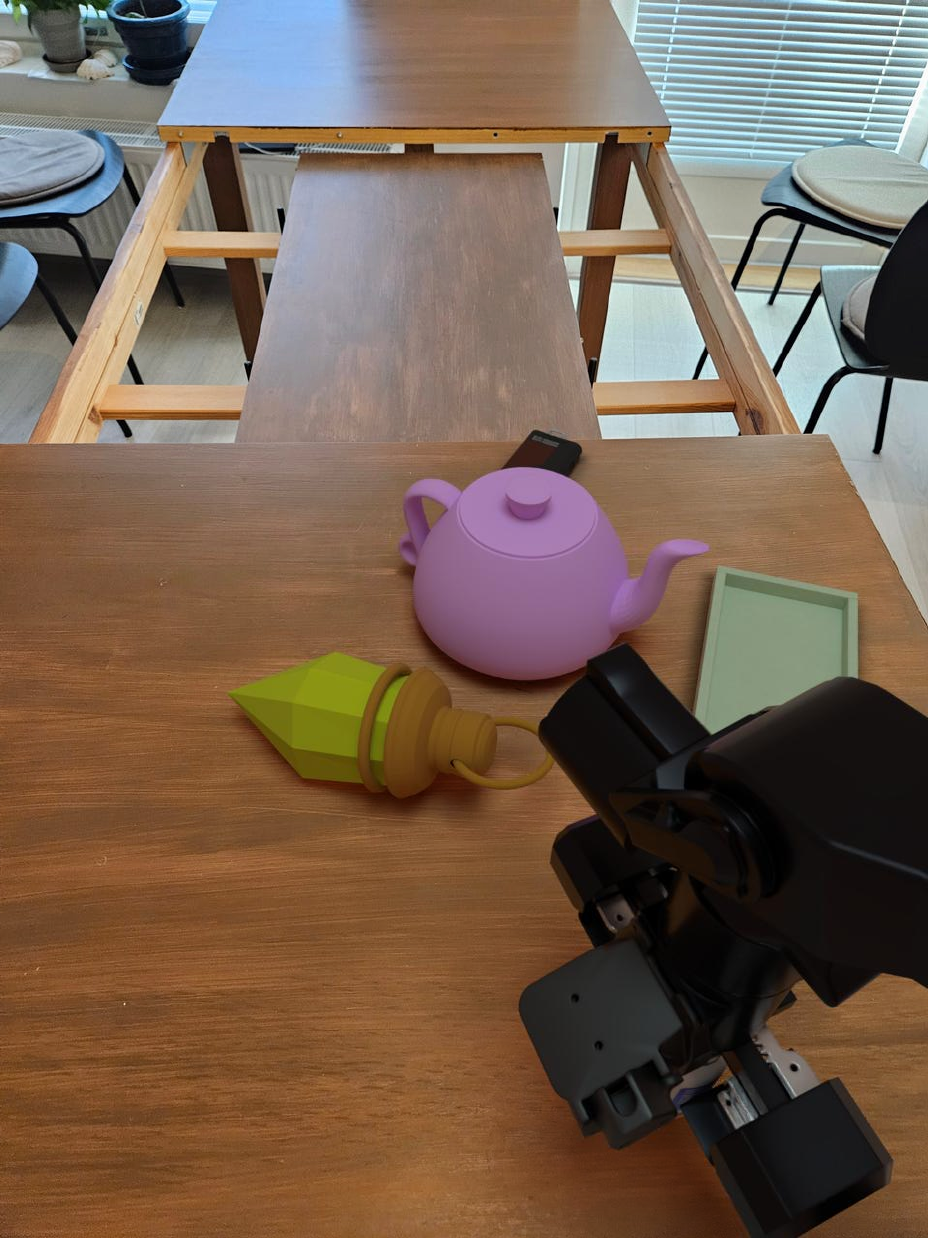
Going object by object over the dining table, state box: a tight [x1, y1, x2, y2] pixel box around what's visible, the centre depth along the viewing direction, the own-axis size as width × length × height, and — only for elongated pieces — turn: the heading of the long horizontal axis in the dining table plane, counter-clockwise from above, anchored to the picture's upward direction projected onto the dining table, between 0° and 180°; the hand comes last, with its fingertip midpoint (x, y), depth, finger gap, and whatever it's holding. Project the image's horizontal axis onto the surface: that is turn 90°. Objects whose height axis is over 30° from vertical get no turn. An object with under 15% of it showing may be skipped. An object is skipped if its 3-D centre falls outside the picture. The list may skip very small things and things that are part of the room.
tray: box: [692, 564, 859, 734], centre depth 67 cm, size 28×12×2 cm, turn 163°
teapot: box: [397, 467, 710, 681], centre depth 70 cm, size 25×18×14 cm
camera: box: [500, 428, 583, 477], centre depth 86 cm, size 6×3×11 cm
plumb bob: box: [226, 651, 556, 799], centre depth 62 cm, size 9×9×25 cm
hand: (667, 1050), depth 47 cm, fingers closed on pill bottle, 5 cm apart
